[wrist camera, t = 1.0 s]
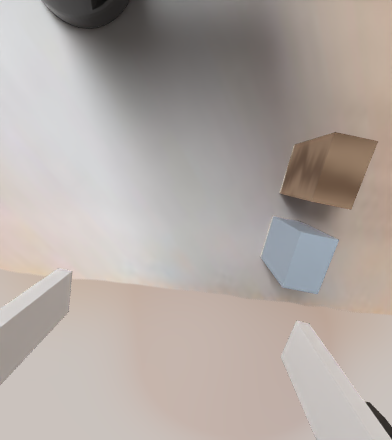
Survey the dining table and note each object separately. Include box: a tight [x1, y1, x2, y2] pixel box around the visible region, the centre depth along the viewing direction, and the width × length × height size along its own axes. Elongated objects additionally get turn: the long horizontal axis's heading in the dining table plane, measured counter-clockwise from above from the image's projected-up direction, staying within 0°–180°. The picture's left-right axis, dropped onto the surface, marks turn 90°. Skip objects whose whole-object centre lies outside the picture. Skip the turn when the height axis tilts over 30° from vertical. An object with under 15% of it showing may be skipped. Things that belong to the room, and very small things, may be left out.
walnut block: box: [280, 132, 378, 210], centre depth 28 cm, size 8×5×10 cm, turn 169°
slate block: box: [261, 216, 339, 294], centre depth 31 cm, size 8×5×10 cm, turn 169°
